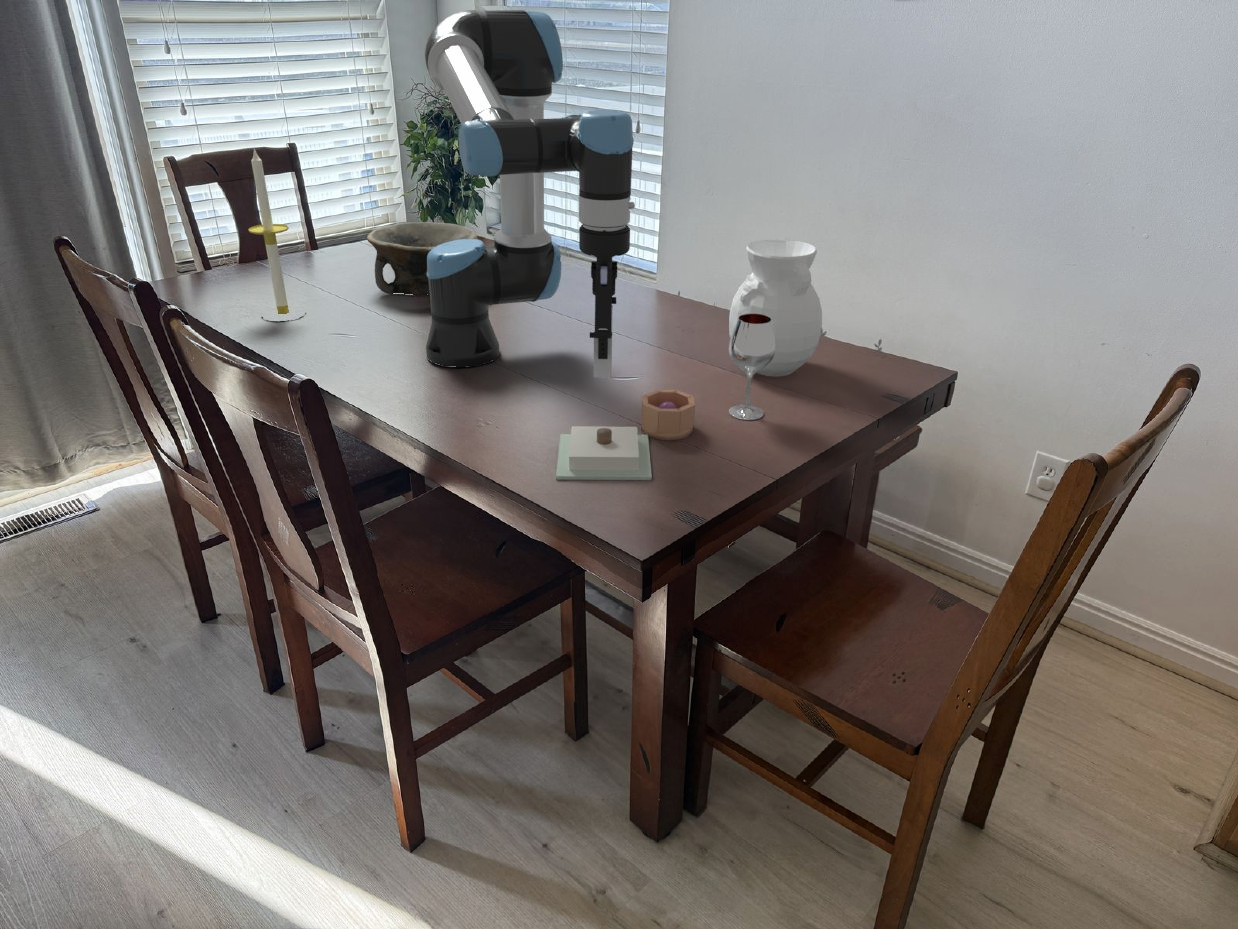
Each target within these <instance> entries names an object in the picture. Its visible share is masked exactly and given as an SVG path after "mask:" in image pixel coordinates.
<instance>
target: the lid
mask: <svg viewBox="0 0 1238 929" xmlns="http://www.w3.org/2000/svg"><path fill="white" fill-rule="evenodd" d="M570 434H571V441H570V452H569V470H628V471H639V450H638V427H637V426H587V425H586V426H582V425H581V426H579V425H577V426H576V425H575V426H573V425H572V426H571V431H570Z"/></svg>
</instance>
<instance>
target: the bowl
mask: <svg viewBox="0 0 1238 929" xmlns="http://www.w3.org/2000/svg"><path fill="white" fill-rule="evenodd" d="M366 239H367V240H366V241H367V242H368V243H369V244H370V245H372V247H374V250H376V257H375V261H374V280H375V285H376V287H377V288H378V289H379V290H380V291H382V292H383V293H385V294H388V295H392V294H393V293H404V294H413V295H416V296H421V295H426V296H430V295H429V294H430V292H429V281H428V277H427V256H428V253H429V252H430V251H431V250H432V249H433V248H434V247H436V246H438V245H440V244H443V243H446V242H450V241H454V240H460V239H468V240H469V239H478V235H477V233H476V232H475V231H474V230H472V229H471V228H469V227H466V226H463V225H459V224H456V223H455V224H454V223H448V222H447V223H445V222H444V223H443V222H433V221H432V222H430V221H429V222H425V221H424V222H423V221H422V222H402V223H396V224H392V225H390V226H386V227H380V228H376V229H373V230H372V231H370V233H368V234H367V238H366ZM478 240H479V239H478ZM386 265H389V266H390V267H391V269H392V271H393V273H394V279H393V281H390V282H389V283H388V281H386V280H385V278H384V273H383V272H384V269H385V266H386ZM427 294H428V295H427Z"/></svg>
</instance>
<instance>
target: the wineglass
mask: <svg viewBox="0 0 1238 929" xmlns="http://www.w3.org/2000/svg"><path fill="white" fill-rule="evenodd" d="M775 351H776V344H775V337H774V331H773V325H772V320H771V318H770V317H768V316H766V315H762V314H743V315H740V316H739V317H738V320H737V323H736V325H735V328H734V331H733V334H732V337H731V339H730V340H729V344H728V353H729V356H730V358H731V360H732V361H733V363H734V364H735V365H736V366H737V367H738V368H739V369H740V370H742V371H743V373H744V374H745V376H746V378H747V379H746V388H745V389H746V390H745V400H744V404H738V405H734V406H731V407H730V408H729V409H728V413H729V415H730V416H731V417H732V418H735V419H738V420H742V421H757V420H759V419H761V418H763V417H764V415H765V412H764V410H763V409H761V408H760V407H758V406H755V405H751V404H750V402H751V400H750V399H751V389H752V381H753V380H752V379H753V377H754V376H755V375H756V374H757V373H756V372H758V371H759V370H761V369H762V368H764V367H765V366H767V365H768V364H769V363H770V362H771V360H772V359H773V357H774V355H775Z"/></svg>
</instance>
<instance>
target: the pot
mask: <svg viewBox="0 0 1238 929" xmlns="http://www.w3.org/2000/svg"><path fill="white" fill-rule="evenodd" d="M695 409H696V404H695V399H694V396H693V395H691V394H689V393H686V392H684V391H681V390H678V389H655V390H653V391H649V392H648V393H645V394H643V395H641V409H640V411H641V413H640V417H641V418H640V419H641V426H640V427H641V432H642V433H643V435H648V438H652V439H655V440H660V441H678V440H682V439H686V438H687V437H689V436H691V434H692V433H693V429H694V426H695V411H696V410H695Z"/></svg>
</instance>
